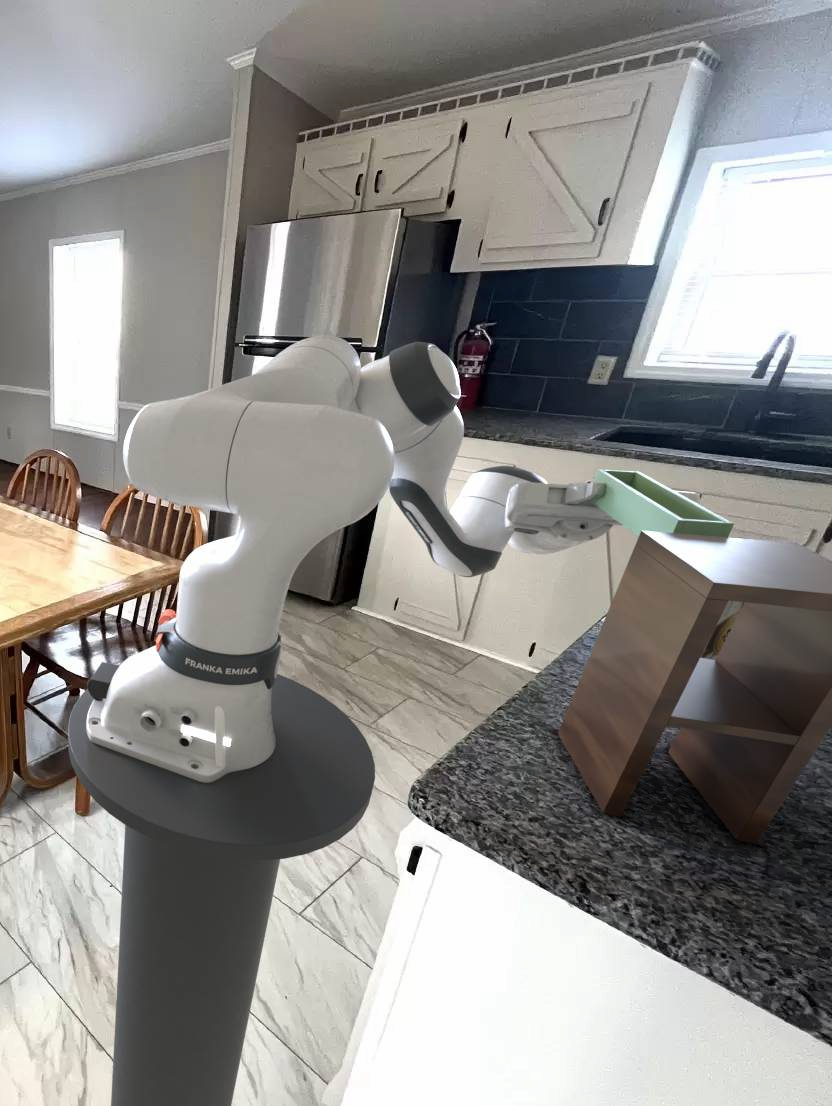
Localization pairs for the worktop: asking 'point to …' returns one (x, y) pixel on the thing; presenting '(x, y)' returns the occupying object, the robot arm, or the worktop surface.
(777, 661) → the shelf stand
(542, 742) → the worktop surface
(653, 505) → the storage tray
